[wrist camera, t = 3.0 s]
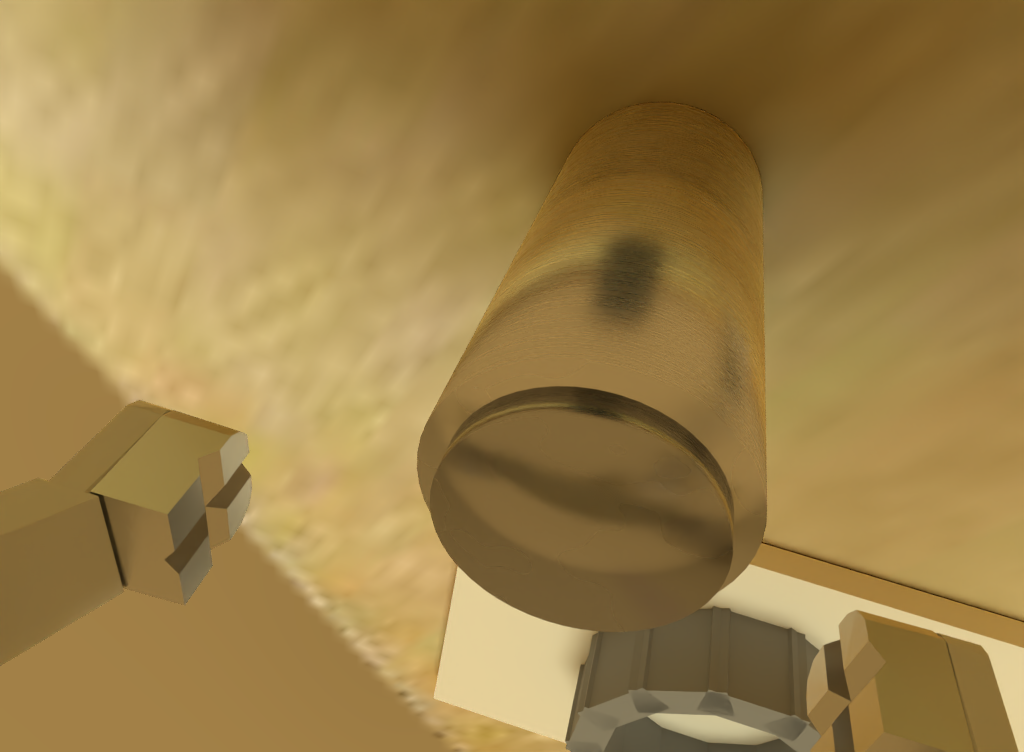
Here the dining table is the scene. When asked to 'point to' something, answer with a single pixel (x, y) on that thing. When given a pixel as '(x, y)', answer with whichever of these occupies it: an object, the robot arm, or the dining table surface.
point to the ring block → (695, 661)
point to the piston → (616, 386)
